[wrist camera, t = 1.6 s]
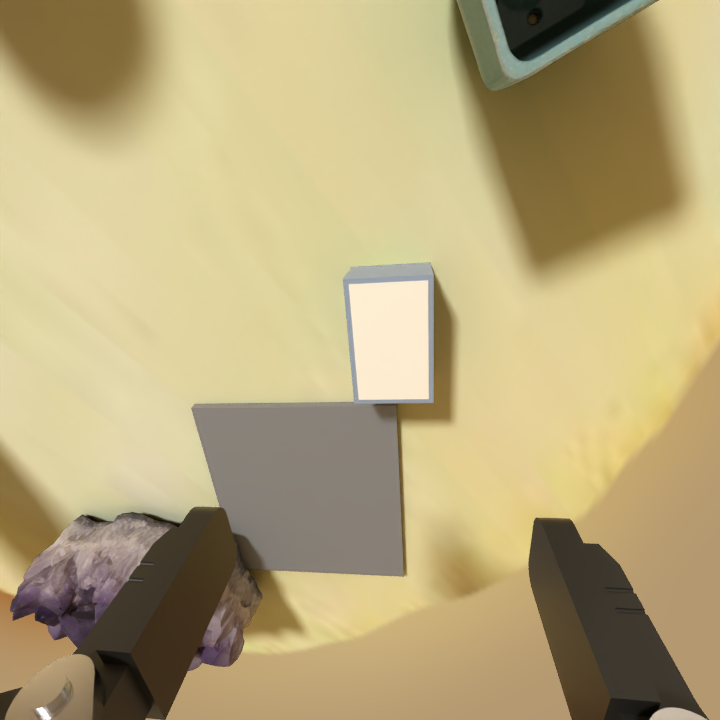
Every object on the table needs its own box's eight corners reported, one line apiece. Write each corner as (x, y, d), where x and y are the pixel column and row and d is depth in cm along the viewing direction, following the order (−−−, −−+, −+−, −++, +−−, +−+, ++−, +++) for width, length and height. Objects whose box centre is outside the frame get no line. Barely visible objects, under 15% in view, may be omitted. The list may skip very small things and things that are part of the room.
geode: (91, 577, 42) (-10, 674, 32) (76, 486, 38) (-41, 564, 29) (268, 619, 39) (215, 740, 29) (269, 524, 35) (210, 625, 26)
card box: (361, 376, 28) (354, 404, 25) (352, 266, 25) (342, 279, 21) (430, 374, 28) (433, 403, 24) (429, 262, 24) (433, 274, 21)
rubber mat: (240, 563, 38) (237, 568, 37) (195, 404, 31) (191, 407, 30) (403, 570, 36) (403, 576, 35) (396, 401, 29) (396, 405, 28)
